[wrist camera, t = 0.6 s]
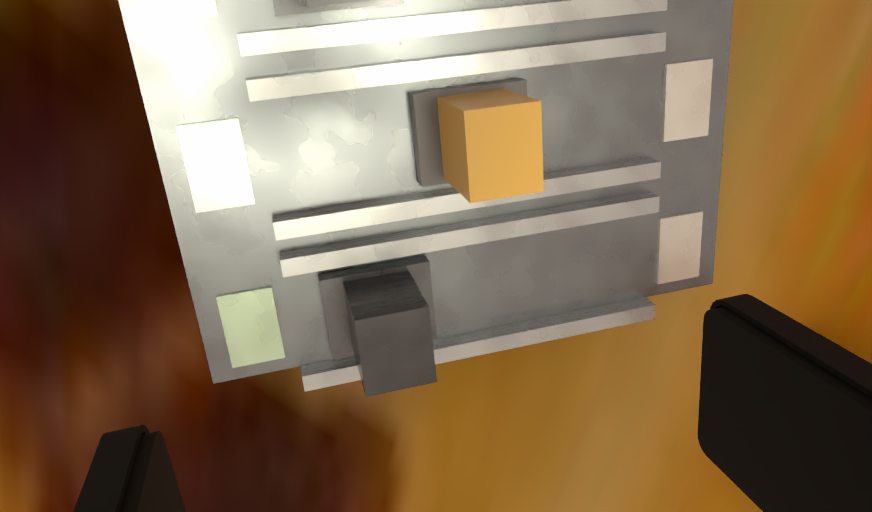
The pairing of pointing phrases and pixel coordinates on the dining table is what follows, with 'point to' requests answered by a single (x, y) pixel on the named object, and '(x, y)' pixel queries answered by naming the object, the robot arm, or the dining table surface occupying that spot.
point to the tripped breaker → (479, 139)
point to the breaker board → (398, 182)
